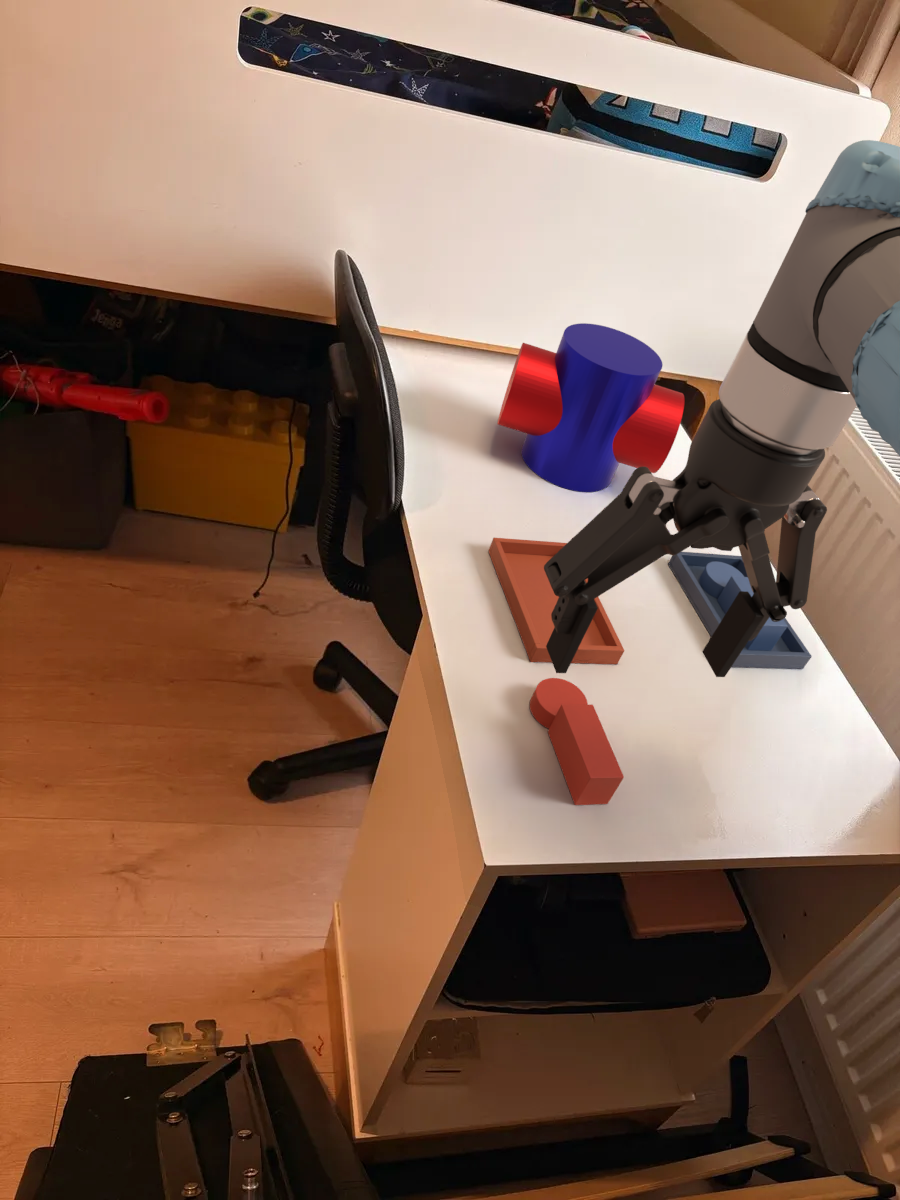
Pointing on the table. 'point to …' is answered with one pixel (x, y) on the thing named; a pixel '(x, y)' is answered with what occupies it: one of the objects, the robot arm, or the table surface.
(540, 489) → the table surface
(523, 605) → the red tray
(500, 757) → the table surface
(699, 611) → the blue tray
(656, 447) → the blue red crossed cylinders
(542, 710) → the red spoon
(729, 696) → the table surface
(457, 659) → the table surface
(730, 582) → the blue spoon
